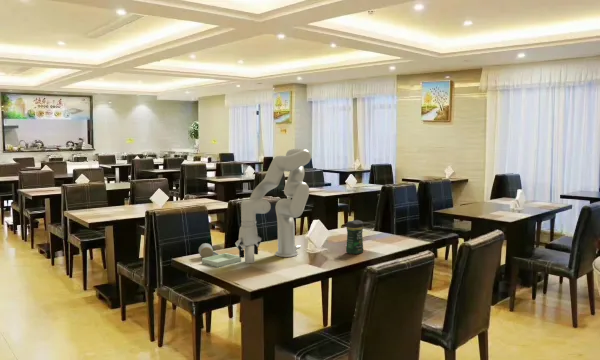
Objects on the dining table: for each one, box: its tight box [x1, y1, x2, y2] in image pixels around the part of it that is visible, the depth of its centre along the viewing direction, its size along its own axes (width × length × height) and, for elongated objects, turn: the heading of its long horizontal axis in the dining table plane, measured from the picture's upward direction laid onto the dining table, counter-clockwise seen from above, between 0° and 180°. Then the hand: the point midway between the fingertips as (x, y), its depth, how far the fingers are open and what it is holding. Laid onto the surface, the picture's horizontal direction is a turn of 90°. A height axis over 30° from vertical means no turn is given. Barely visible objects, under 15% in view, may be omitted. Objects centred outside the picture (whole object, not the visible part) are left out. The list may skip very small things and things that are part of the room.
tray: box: [201, 252, 242, 268], centre depth 258 cm, size 16×13×3 cm
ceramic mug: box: [198, 242, 219, 259], centre depth 268 cm, size 11×8×8 cm
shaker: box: [244, 244, 255, 264], centre depth 257 cm, size 5×5×10 cm
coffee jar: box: [345, 219, 364, 255], centre depth 274 cm, size 10×8×19 cm
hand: (248, 255), depth 257 cm, fingers open, 9 cm apart
